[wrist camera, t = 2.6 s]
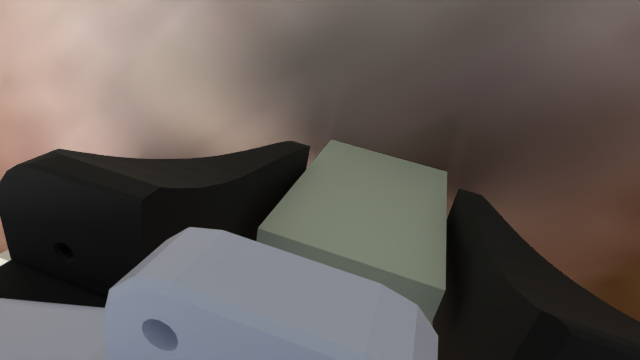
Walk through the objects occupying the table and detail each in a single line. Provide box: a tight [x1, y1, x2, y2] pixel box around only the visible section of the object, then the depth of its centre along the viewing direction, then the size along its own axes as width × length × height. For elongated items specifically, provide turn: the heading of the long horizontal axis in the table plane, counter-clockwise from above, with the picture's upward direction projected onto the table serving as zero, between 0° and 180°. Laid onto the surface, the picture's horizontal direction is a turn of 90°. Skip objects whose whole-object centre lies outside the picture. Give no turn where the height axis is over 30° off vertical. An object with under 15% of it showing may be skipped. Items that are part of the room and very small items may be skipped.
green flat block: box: [256, 140, 447, 324], centre depth 11 cm, size 4×1×6 cm, turn 79°
